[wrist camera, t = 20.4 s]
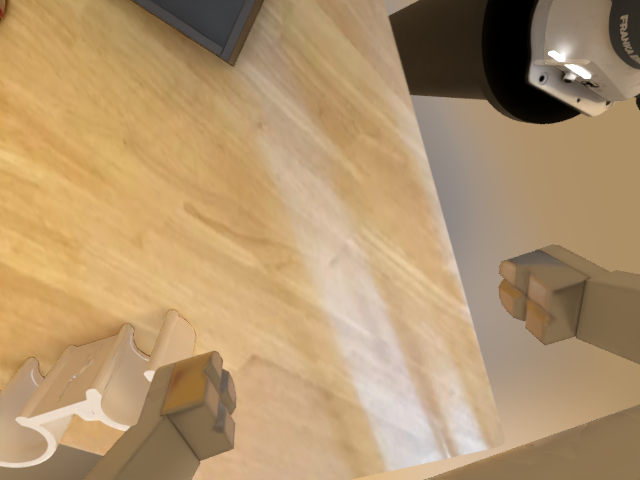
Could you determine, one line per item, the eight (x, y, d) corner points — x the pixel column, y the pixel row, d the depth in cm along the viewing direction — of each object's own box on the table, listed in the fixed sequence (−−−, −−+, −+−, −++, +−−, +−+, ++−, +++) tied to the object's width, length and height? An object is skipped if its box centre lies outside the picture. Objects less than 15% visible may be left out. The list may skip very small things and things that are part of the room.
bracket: (56, 398, 53) (6, 478, 42) (16, 357, 49) (-51, 434, 38) (205, 351, 54) (194, 416, 44) (180, 306, 50) (160, 367, 39)
